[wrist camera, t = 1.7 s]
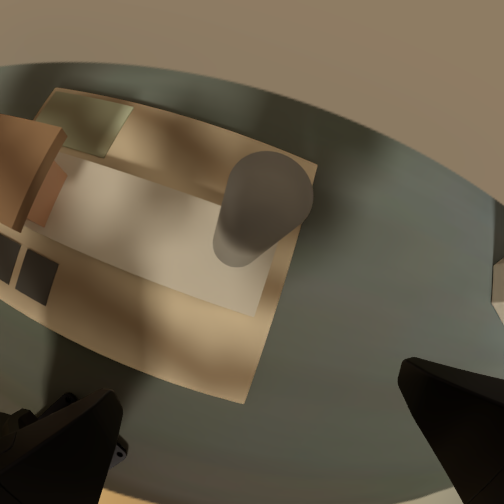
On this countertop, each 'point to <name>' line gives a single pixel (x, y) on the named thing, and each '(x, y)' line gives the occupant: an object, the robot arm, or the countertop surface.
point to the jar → (498, 289)
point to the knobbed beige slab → (178, 224)
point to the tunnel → (24, 165)
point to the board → (132, 286)
